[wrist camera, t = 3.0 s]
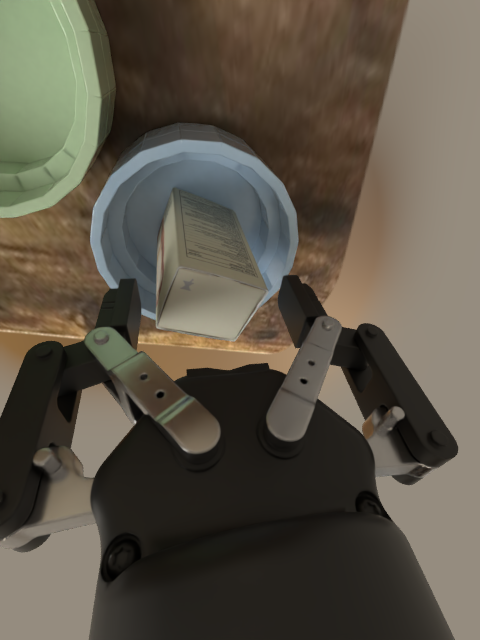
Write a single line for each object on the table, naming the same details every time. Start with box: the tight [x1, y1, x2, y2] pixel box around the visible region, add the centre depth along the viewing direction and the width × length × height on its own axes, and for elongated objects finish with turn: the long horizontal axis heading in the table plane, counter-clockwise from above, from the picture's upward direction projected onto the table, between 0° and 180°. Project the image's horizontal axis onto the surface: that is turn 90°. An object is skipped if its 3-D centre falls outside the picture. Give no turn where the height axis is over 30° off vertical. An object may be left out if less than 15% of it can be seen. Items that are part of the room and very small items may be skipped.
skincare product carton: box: [156, 188, 268, 341], centre depth 18 cm, size 5×4×10 cm
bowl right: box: [90, 123, 299, 320], centre depth 20 cm, size 13×13×5 cm
